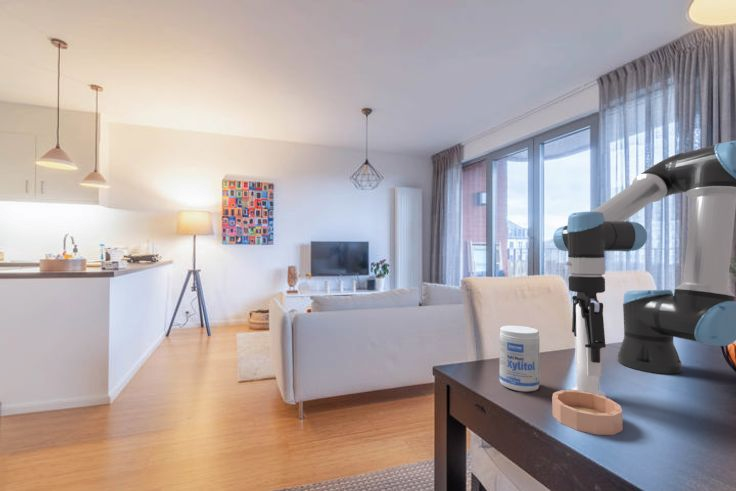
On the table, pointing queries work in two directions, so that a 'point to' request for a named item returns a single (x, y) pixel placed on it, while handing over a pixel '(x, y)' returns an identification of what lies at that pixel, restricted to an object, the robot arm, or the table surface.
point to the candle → (584, 359)
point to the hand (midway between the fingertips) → (587, 369)
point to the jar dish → (587, 412)
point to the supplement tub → (519, 358)
